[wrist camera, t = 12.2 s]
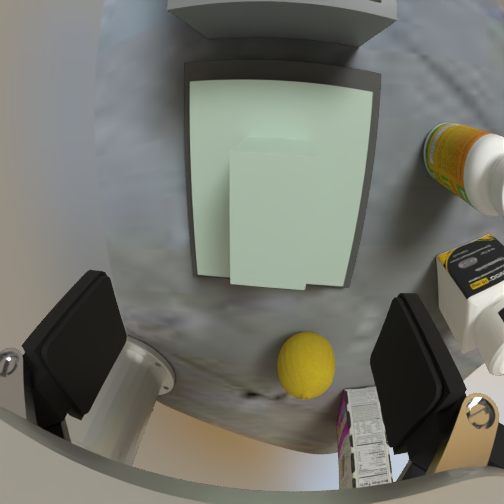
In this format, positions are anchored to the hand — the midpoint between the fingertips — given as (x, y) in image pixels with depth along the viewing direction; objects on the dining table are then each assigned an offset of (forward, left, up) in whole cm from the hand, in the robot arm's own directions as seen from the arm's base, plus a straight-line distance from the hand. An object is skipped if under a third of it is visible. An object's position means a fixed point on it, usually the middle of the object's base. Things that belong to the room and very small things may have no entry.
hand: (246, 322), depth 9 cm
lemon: (-15, -4, -15) cm, 22 cm away
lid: (+1, 0, -13) cm, 13 cm away
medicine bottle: (-6, -21, -15) cm, 26 cm away
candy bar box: (-30, -14, -15) cm, 37 cm away
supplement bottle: (+5, -15, -15) cm, 21 cm away
